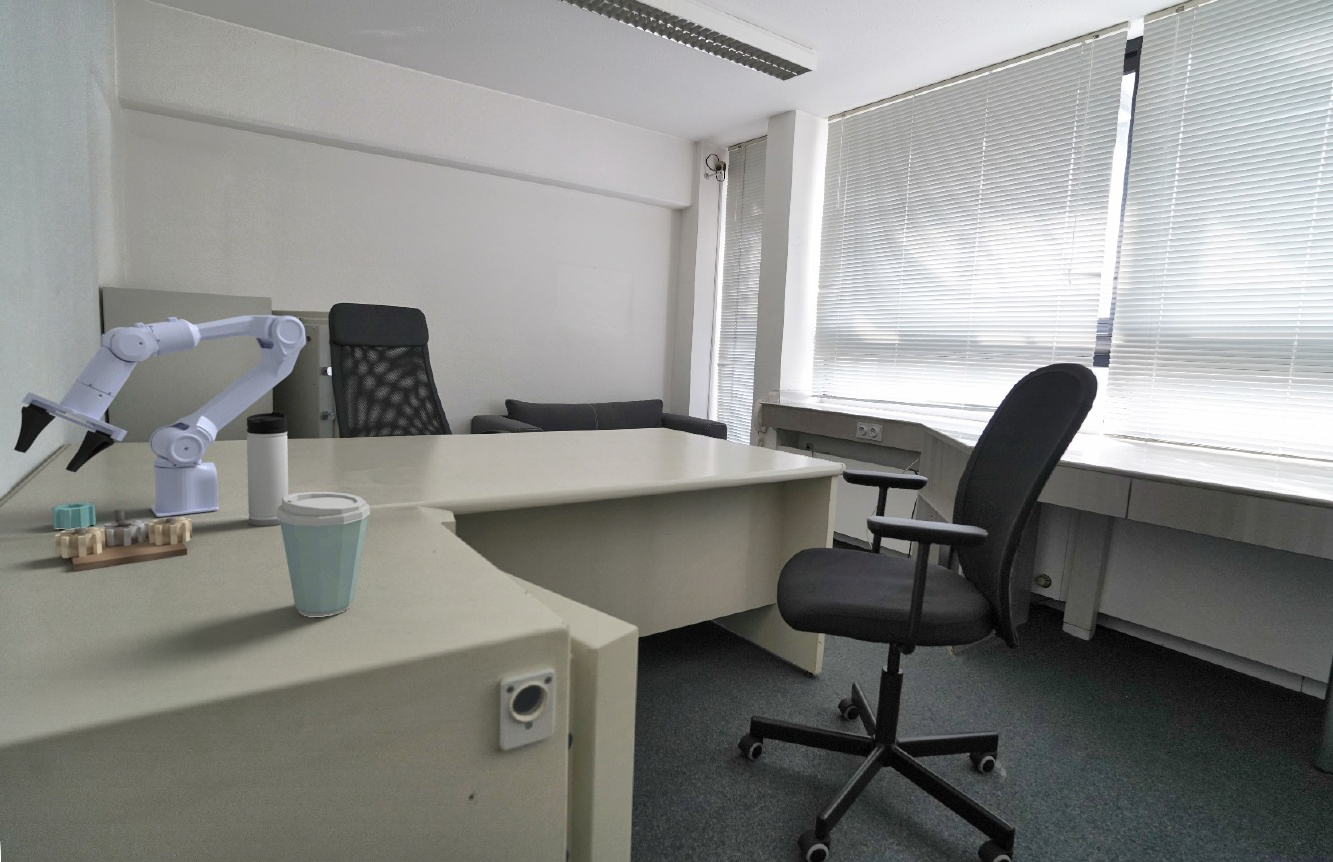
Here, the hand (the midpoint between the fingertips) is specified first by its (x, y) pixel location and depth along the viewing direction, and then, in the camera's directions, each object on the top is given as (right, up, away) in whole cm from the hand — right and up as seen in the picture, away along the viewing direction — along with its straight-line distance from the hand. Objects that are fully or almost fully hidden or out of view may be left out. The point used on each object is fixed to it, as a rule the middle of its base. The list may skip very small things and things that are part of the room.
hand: (45, 461), depth 109 cm
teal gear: (+2, -11, +3) cm, 12 cm away
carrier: (+17, -13, -5) cm, 22 cm away
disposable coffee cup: (+58, -18, -23) cm, 65 cm away
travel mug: (+29, -12, +12) cm, 34 cm away
